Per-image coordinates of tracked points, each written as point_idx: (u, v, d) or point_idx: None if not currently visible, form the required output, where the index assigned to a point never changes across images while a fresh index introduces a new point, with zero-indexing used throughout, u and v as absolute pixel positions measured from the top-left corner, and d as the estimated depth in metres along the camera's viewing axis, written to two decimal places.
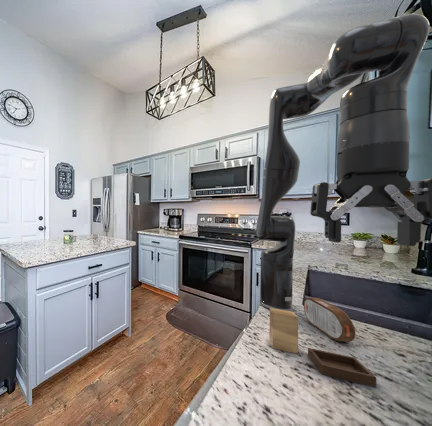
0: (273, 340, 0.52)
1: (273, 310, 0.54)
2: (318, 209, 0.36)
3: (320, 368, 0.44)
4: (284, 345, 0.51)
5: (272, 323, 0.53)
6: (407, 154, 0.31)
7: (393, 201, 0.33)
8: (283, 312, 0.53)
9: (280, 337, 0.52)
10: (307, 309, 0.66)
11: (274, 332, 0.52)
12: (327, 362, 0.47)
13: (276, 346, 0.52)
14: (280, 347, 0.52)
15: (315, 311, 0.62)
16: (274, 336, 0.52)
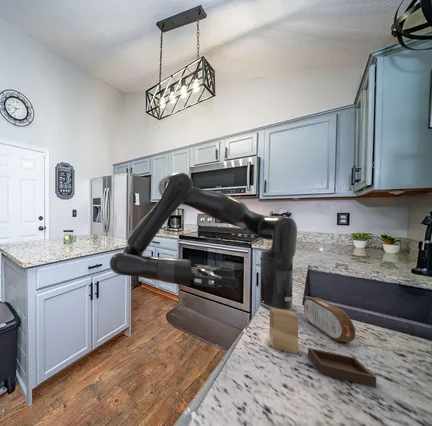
0: (273, 340, 0.52)
1: (273, 310, 0.54)
2: None
3: (320, 368, 0.44)
4: (284, 345, 0.51)
5: (272, 323, 0.53)
6: (180, 283, 0.60)
7: (207, 281, 0.58)
8: (283, 312, 0.53)
9: (280, 337, 0.52)
10: (307, 309, 0.66)
11: (274, 332, 0.52)
12: (327, 362, 0.47)
13: (276, 346, 0.52)
14: (280, 347, 0.52)
15: (315, 311, 0.62)
16: (274, 336, 0.52)
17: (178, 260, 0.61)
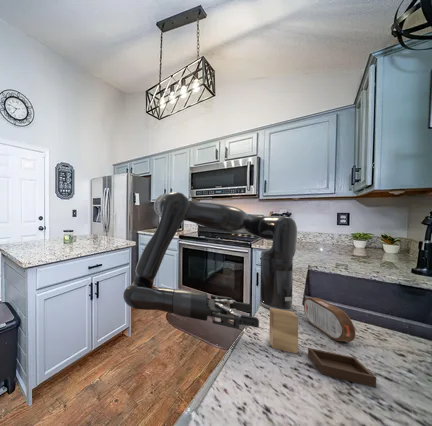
0: (273, 340, 0.52)
1: (273, 310, 0.54)
2: None
3: (320, 368, 0.44)
4: (284, 345, 0.51)
5: (272, 323, 0.53)
6: (197, 318, 0.58)
7: None
8: (283, 312, 0.53)
9: (280, 337, 0.52)
10: (307, 309, 0.66)
11: (274, 332, 0.52)
12: (327, 362, 0.47)
13: (276, 346, 0.52)
14: (280, 347, 0.52)
15: (315, 311, 0.62)
16: (274, 336, 0.52)
17: (194, 294, 0.60)
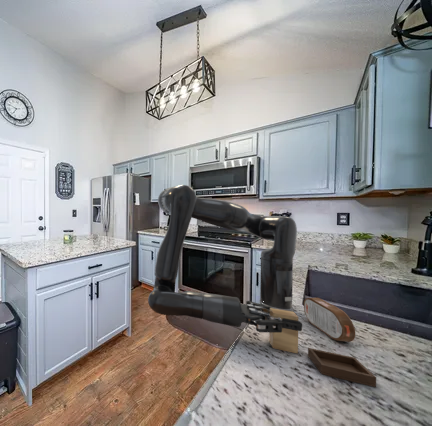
0: (273, 340, 0.52)
1: (273, 310, 0.54)
2: None
3: (320, 368, 0.44)
4: (284, 345, 0.51)
5: None
6: (230, 324, 0.55)
7: None
8: (283, 312, 0.53)
9: (280, 337, 0.52)
10: (307, 309, 0.66)
11: (274, 332, 0.52)
12: (327, 362, 0.47)
13: (276, 346, 0.52)
14: (280, 347, 0.52)
15: (315, 311, 0.62)
16: (274, 336, 0.52)
17: (226, 299, 0.57)
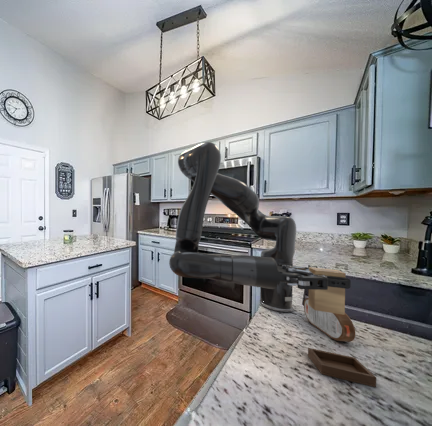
0: (315, 301, 0.47)
1: (314, 268, 0.48)
2: None
3: (320, 368, 0.44)
4: (328, 306, 0.46)
5: None
6: (264, 286, 0.49)
7: None
8: (326, 270, 0.47)
9: (323, 297, 0.46)
10: (307, 309, 0.66)
11: (316, 292, 0.46)
12: (327, 362, 0.47)
13: (319, 308, 0.46)
14: (324, 309, 0.46)
15: (315, 311, 0.62)
16: (316, 296, 0.46)
17: (259, 258, 0.51)
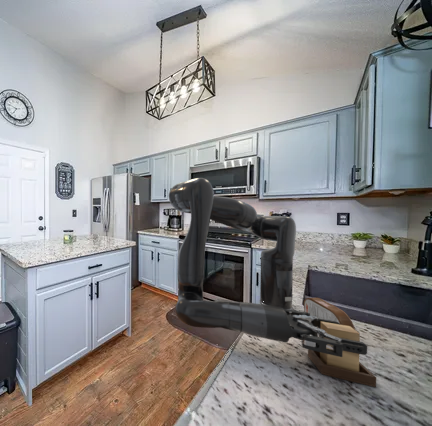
0: (327, 360, 0.45)
1: (326, 324, 0.46)
2: None
3: (320, 368, 0.44)
4: (341, 366, 0.44)
5: None
6: (275, 339, 0.48)
7: None
8: (338, 327, 0.45)
9: (336, 357, 0.44)
10: (307, 309, 0.66)
11: None
12: None
13: None
14: None
15: (315, 311, 0.62)
16: (329, 355, 0.45)
17: (269, 309, 0.49)
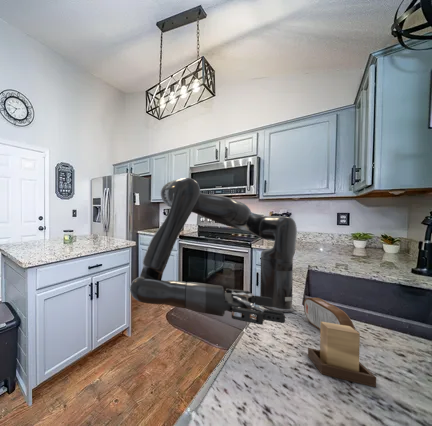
0: (327, 360, 0.45)
1: (326, 324, 0.46)
2: None
3: (320, 368, 0.44)
4: (341, 366, 0.44)
5: (326, 340, 0.45)
6: (213, 314, 0.53)
7: None
8: (338, 327, 0.45)
9: (336, 357, 0.44)
10: (307, 309, 0.66)
11: (329, 350, 0.45)
12: None
13: None
14: None
15: (315, 311, 0.62)
16: (329, 355, 0.45)
17: (209, 287, 0.54)
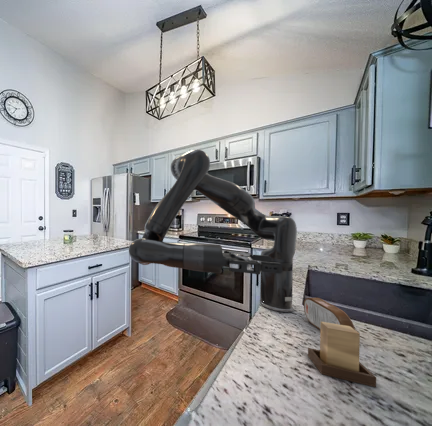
0: (327, 360, 0.45)
1: (326, 324, 0.46)
2: None
3: (320, 368, 0.44)
4: (341, 366, 0.44)
5: (326, 340, 0.45)
6: (211, 270, 0.53)
7: None
8: (338, 327, 0.45)
9: (336, 357, 0.44)
10: (307, 309, 0.66)
11: (329, 350, 0.45)
12: None
13: None
14: None
15: (315, 311, 0.62)
16: (329, 355, 0.45)
17: (207, 245, 0.55)
